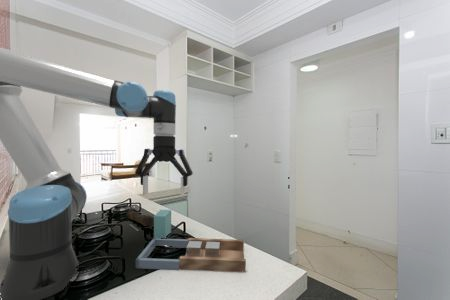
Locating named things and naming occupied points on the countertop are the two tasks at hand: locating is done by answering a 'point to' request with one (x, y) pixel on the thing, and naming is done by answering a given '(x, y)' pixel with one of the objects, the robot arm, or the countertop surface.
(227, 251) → the channel
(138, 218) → the hand tool
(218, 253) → the light grey cube
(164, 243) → the tray
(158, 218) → the upright teal block
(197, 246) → the grey cube
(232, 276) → the countertop surface
